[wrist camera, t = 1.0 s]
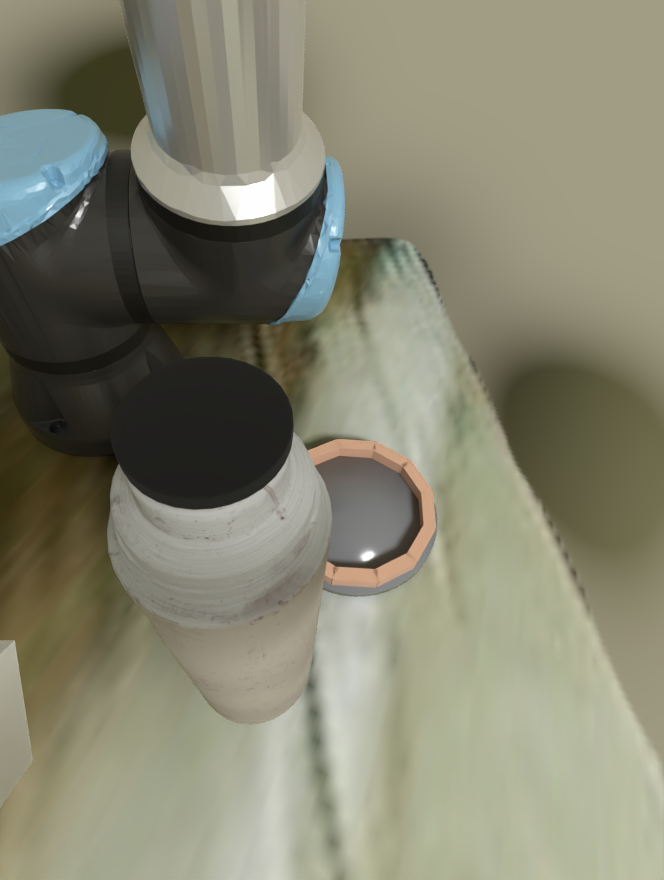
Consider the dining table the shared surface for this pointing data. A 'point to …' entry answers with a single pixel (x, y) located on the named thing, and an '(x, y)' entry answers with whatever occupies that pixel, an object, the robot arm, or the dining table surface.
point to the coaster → (374, 517)
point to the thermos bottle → (221, 530)
